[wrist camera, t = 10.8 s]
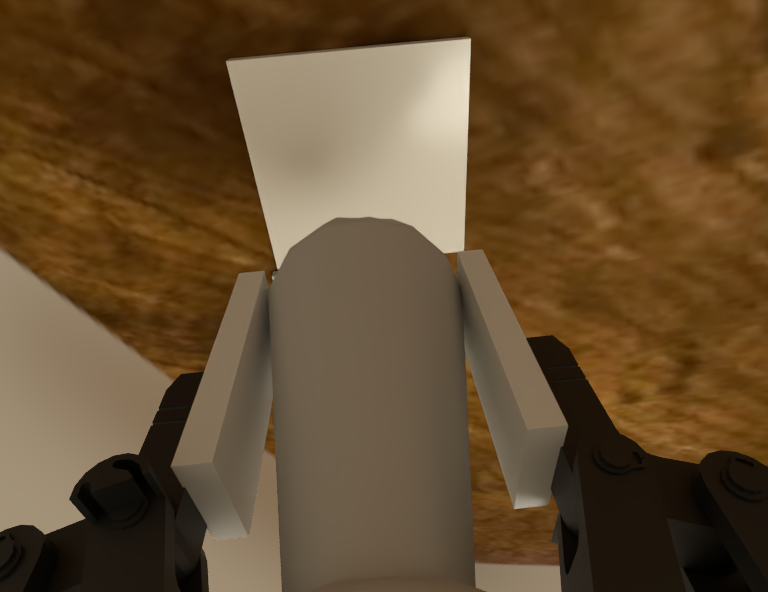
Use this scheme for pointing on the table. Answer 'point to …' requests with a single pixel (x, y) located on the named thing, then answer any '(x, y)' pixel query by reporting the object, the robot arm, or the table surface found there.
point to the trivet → (358, 137)
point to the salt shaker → (370, 413)
